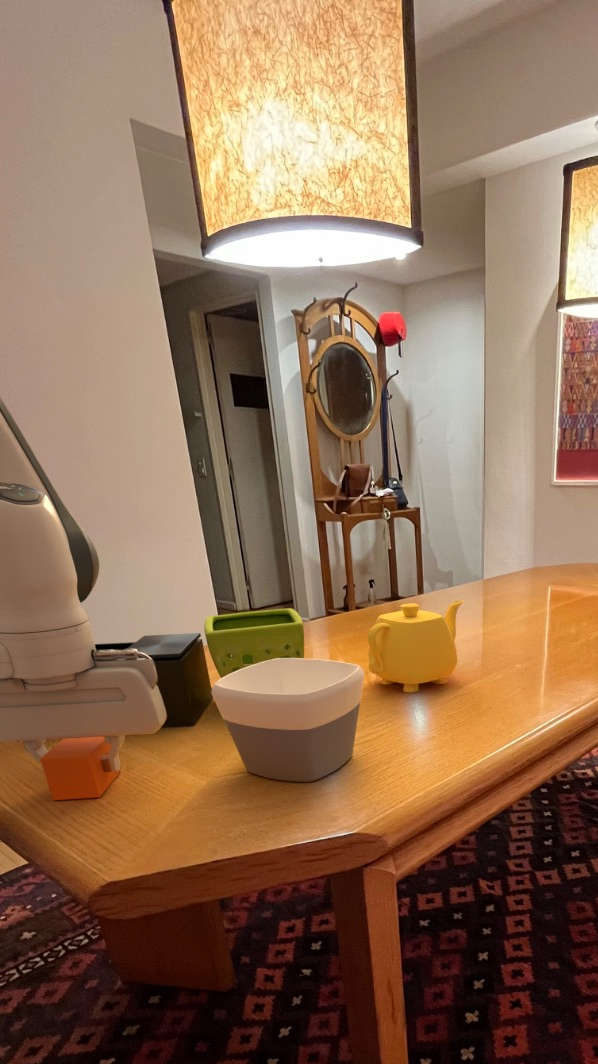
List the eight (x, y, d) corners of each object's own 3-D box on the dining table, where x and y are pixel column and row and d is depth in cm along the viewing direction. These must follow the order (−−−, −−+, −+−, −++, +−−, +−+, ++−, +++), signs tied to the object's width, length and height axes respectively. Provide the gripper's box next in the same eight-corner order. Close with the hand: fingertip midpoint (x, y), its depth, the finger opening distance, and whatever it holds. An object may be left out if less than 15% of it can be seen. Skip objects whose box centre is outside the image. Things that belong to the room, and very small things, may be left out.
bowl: (285, 734, 92) (274, 653, 87) (385, 748, 86) (379, 663, 81) (209, 778, 79) (190, 686, 74) (320, 798, 74) (308, 700, 69)
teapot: (348, 684, 112) (340, 606, 107) (439, 662, 124) (436, 590, 119) (397, 702, 103) (392, 618, 98) (491, 676, 115) (491, 599, 109)
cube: (99, 797, 75) (88, 756, 73) (53, 800, 75) (39, 759, 72) (120, 772, 81) (110, 733, 79) (77, 775, 81) (66, 736, 79)
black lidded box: (70, 733, 95) (49, 660, 90) (103, 704, 106) (85, 638, 102) (194, 725, 96) (179, 653, 91) (213, 698, 108) (200, 632, 103)
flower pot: (304, 683, 114) (294, 606, 108) (315, 707, 102) (305, 622, 96) (218, 692, 110) (203, 613, 105) (219, 719, 98) (202, 631, 93)
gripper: (159, 640, 75) (183, 756, 81) (-36, 649, 73) (5, 766, 79) (142, 654, 69) (169, 777, 75) (-69, 664, 67) (-23, 789, 73)
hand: (83, 772), depth 77 cm, fingers closed on cube, 5 cm apart
